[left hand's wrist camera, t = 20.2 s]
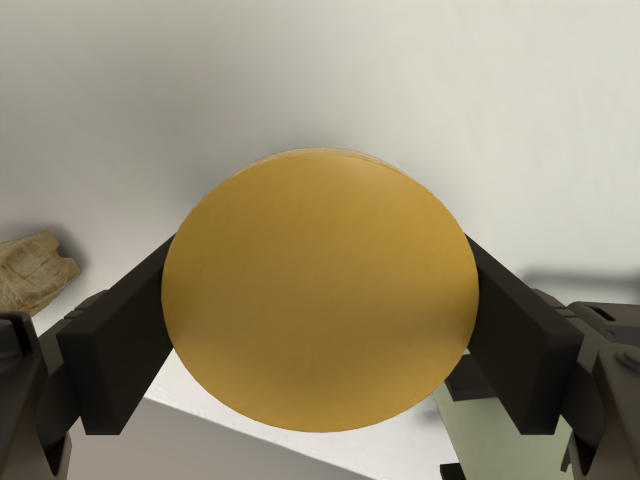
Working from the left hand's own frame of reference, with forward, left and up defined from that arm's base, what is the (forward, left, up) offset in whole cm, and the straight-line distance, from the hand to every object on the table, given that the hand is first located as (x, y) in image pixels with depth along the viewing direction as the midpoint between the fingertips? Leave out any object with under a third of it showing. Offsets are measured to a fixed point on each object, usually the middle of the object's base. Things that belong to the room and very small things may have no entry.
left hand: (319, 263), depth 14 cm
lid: (0, 0, +3) cm, 3 cm away
